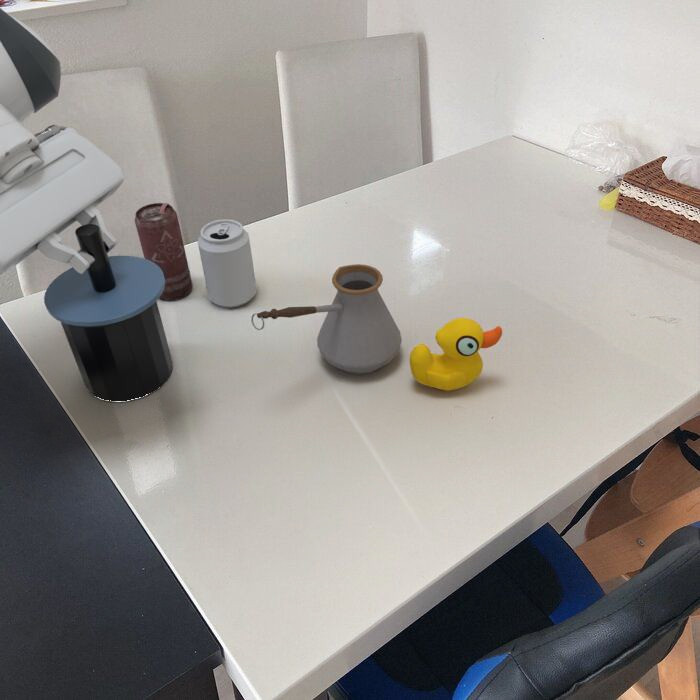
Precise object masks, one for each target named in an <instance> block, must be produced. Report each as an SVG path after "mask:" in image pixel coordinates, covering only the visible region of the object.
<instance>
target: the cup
mask: <svg viewBox="0 0 700 700" xmlns="http://www.w3.org/2000/svg"><path fill="white" fill-rule="evenodd" d="M157 301H158V300H157ZM157 301H156V302H155V303H154V304H152V305H151V306H150V307H149V308H147V309H146V310H144V311H143V312H141V313H139V314H137V315H135V316H133V317H131V318H128V319H126V320H123V321H119V322H116V323H112V324H107V325H101V326H75V325H69V324H66V323H63V322H60V325H61V326H62V329H63V332H64V335H65V337H66V340H67V342H68V346H69V347H70V350H71V353H72V355H73V359H74V360H75V362H76V367H77V368H78V372H79V373H80V376H81V378H82V382H83V384H84V386H85V388H86V390H87V389H88V390H89V391H90V393H92V394H93V395H94V396H96V397H99V398H101V399H104V400H109V401H110V400H111V401H127V400H131V399H135V398H139V397H143V396H145V395H146V394H149V393H151V392H153V391H155V390H156V391H158V390H159V389H160V388H162V387H163V386H164V385H165V384H166V383H167V382H168V380H169V379H168V378H171V375H172V372H173V365H174V364H173V358H172V354H171V351H170V347H169V343H168V339H167V335H166V332H165V327H164V325H163V320H162V317H161V313H160V309H159V305H158V302H157ZM165 382H166V383H165ZM164 383H165V384H164ZM163 384H164V385H163ZM162 385H163V386H162ZM161 386H162V387H161ZM159 387H160V388H159ZM158 388H159V389H158ZM157 389H158V390H157ZM88 390H87V391H88ZM89 391H88V392H89ZM156 391H155V392H156ZM90 393H89V394H90ZM153 393H154V392H153ZM93 395H92V396H93ZM94 396H93V397H94ZM143 398H144V397H143Z"/></svg>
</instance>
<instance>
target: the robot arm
mask: <svg viewBox="0 0 700 700" xmlns="http://www.w3.org/2000/svg"><path fill="white" fill-rule="evenodd" d="M61 69H62V68H61V62H60V60H59V59H58V57H57V56H56V54H55V52H54V51H53V49H52V47H51V46H50V45H49V43H47V41H46V40H45V39H43V37H42V36H40V35H39V34H38V32H36V31H35V30H34V29H32V28H31V27H30V26H28V25H27V24H25V23H24V22H23V21H21V20H19V19H18V18H16V17H14V16H13V15H11V14H9V13H8V12H6V11H4V10H3V9H2V8H1V7H0V278H1V277H2V276H3V275H5V274H6V273H7V272H9V271H10V270H11V269H13V268H14V267H16V266H17V265H18V264H21V263H22V261H24V260H25V259H27V258H29V256H31V255H32V254H33V253H35V252H36V251H37V250H38V251H40V252H41V253H42V254H43V255H44V256H45V257H46V258H48V259H52V260H55V261H58V262H61V263H65V264H68V265H69V266H70V267H71V268H72V267H73V268H74V269H75V270H76V271H77V272H78V273H80V274H83V273H84V272H85V271H87V270H88V269H89V268H90V267H91V266H92V265H93V264H94V263H95V258H94V257H93V256H92V255H89V253H88V251H86V250H85V249H84V248H82V249H80V250H77V249H75V248H72V247H70V246H68V245H66V244H63V243H62V241H63V238H62V237H61V236H60V235H59V234H61V233H62V232H63V231H65V230H66V229H68V228H69V227H70V226H72V225H73V224H74V223H76V222H78V223H79V224H80V226H83V225H86V224H95V225H98V226H99V228H100V231H101V235H102V238H103V241H104V245H105V248H106V251H107V254H108V253H109V252H111V251H112V250H114V249H115V247H116V246H117V245H118V240H117V238H115V237H114V235H113V234H112V233H110V232H109V230H107V225H106V223H105V220H104V217H103V214H102V212H101V211H100V210H99V208H97V207H98V206H99V205H100V204H102V203H103V202H105V201H106V200H107V199H109V198H110V197H112V196H113V195H114V194H115V193H116V192H117V191H118V189H119V188H121V185H122V184H123V182H124V181H125V174H124V171H123V169H122V168H121V166H120V165H119V164H118V163H117V162H116V161H114V159H112V158H111V157H110V156H109V155H108V154H107V153H105V151H103V150H101V148H99V147H98V146H97V145H95V144H94V143H93V142H92V141H90V140H89V139H87V138H86V137H85V136H83V135H81V134H79V132H77V131H76V130H75V129H74V128H72V127H71V126H69V127H68V126H64V125H58V124H52V125H49V126H48V127H46V128H45V129H44V130H42V131H40V132H37V133H35V134H33V133H32V132H31V130H29V129H28V128H27V127H26V126H25V125H24V123H23V122H25V121H26V120H28V118H29V117H31V116H32V115H33V114H36V113H37V112H39V111H40V110H42V109H43V108H44V107H46V106H47V105H48V104H49V103H51V102H52V101H54V100H55V99H56V98H58V97H59V93H60V87H61V78H62V77H61V76H62V75H61V74H62V73H61V71H62V70H61Z"/></svg>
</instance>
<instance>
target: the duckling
mask: <svg viewBox="0 0 700 700" xmlns="http://www.w3.org/2000/svg"><path fill="white" fill-rule="evenodd" d="M502 335H503V328H502V326H500V325H497V326H496V327H495V328H493V329H491V330H487V331H483V329H482V327H481V325H480V323H479V322H477V321H475V320H473V319H471V318H467V317H458V318H454V319H452V320H450V321H448V322H447V323H445V325H443V326H442V327H440V328H439V329H438V330H437V331H436V332H435V336H434V337H435V341H436V344H437V345H438V346H439V348H440V349H441V350H442V351H443V353H432V352H431V349H430V348H429V346H428V345H427V344H425V343H419V344H417V345H415V346H414V347H413V348H412V349H411V351H410V354H409V368H410V372H411V375H412V377H413V378H414V379H415V380H416V381H417V383H419V384H421V385H424V386H427V387H431V388H435V389H439V390H442V391H455V390H458V389H461V388H464V387H466V386H468V385H470V384H471V383H473V382H474V381H475V380H477V379H478V378H479V377H480V375H481V373H482V371H483V369H484V368H483V367H484V362H483V359H482V357H481V355H480V353H479V351H480V350H481V349H489V348H491V347H493V346H495V345H497V344H498V342H500V339H501V338H502Z"/></svg>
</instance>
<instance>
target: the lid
mask: <svg viewBox="0 0 700 700" xmlns="http://www.w3.org/2000/svg"><path fill="white" fill-rule="evenodd" d="M74 234H75V237H76V241H77V243H78V247H79V249H80V250H81V249H82V248H84V249H85V250H86V251H88V253H89V255H92V256H93V257H94V258H95V263H94V264H93V265H92V266H91V267H90V268H89V269H88V270H87V271H85V272H84V273H83V274H80V273H78V272H77V271H76V270H75V269H74V268H73V267H72V266H71V267H70V268H68V269H66V270H65V271H63V272H62V273H60V274H59V275H58V276H56V278H54V279H53V280H52V282H50V283H49V284H48V287H47V288H46V289H45V293H44V295H43V303H44V306H45V308H46V312H47V313H48V314H49V315H50V316H51V317H52V318H54V319H55V320H56V321H58V322H60V323H61V322H63V323H66V324H69V325H75V326H101V325H107V324H112V323H116V322H119V321H123V320H126V319H128V318H131V317H133V316H135V315H137V314H139V313H141V312H143V311H144V310H146V309H147V308H149V307H150V306H151V305H152V304H154V303H155V302H156V301H158V300H159V299H160V298H159V297H160V296H161V294H162V292H163V290H164V287H165V278H164V274H163V272H162V270H161V269H160V268H159V266H158V265H156V264H155V263H153V262H151V261H150V260H147V259H145V258H144V257H140V256H134V255H111V256H109V255H108V253H107V251H106V248H105V245H104V241H103V238H102V235H101V231H100V228H99V226H98V225H95V224H86V225H83V226H82V225H80V226H79V227H77V228H76V229H75V230H74Z"/></svg>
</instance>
